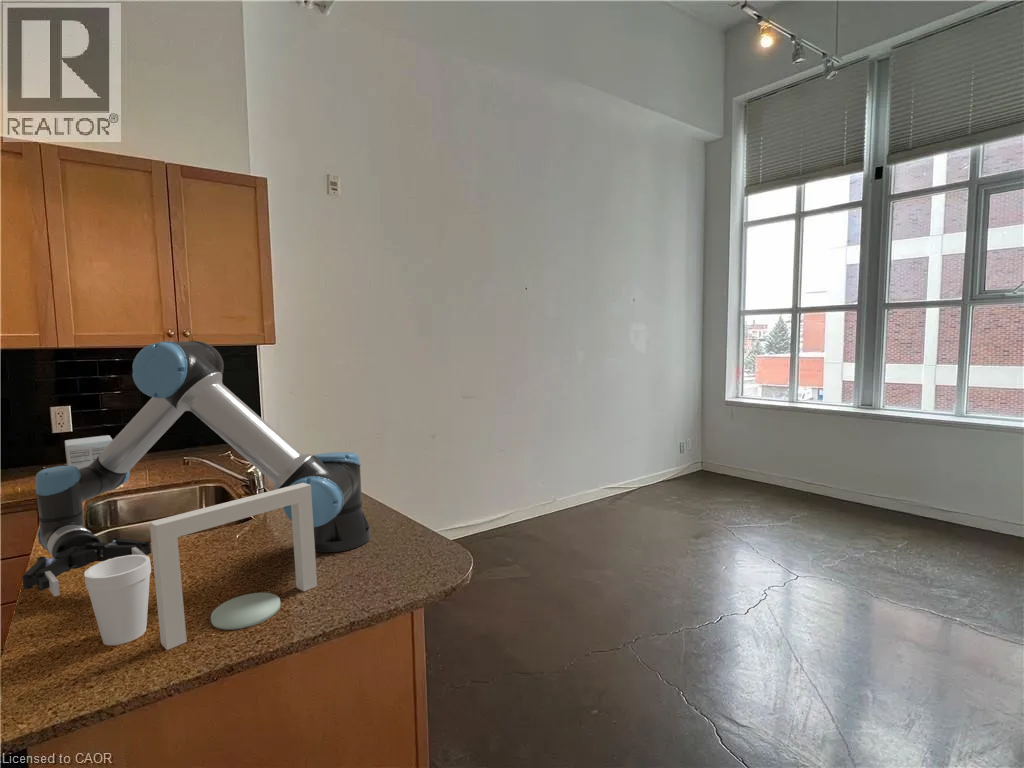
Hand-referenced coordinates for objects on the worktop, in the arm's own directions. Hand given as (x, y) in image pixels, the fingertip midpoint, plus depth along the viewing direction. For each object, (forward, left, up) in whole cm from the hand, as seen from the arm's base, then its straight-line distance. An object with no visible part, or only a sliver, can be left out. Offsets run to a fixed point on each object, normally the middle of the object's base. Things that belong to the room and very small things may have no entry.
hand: (102, 574), depth 99 cm
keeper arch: (-17, +20, -8) cm, 28 cm away
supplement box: (-23, -113, -9) cm, 116 cm away
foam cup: (0, +10, -9) cm, 13 cm away
